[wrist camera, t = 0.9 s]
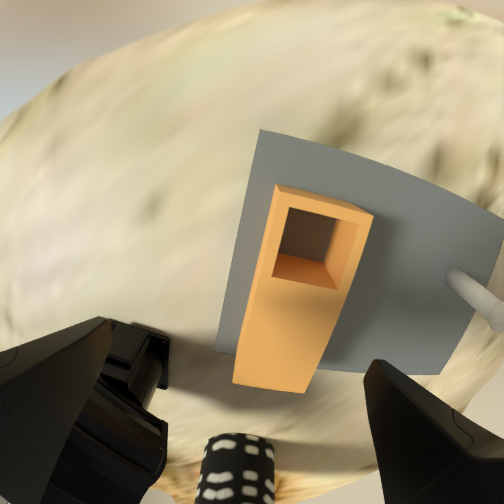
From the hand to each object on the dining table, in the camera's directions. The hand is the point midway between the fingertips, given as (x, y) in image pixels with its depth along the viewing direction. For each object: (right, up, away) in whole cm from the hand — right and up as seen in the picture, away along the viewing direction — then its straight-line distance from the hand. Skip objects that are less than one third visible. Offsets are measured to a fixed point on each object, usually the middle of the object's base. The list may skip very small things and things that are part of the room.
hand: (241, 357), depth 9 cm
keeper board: (+10, +1, +11) cm, 15 cm away
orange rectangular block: (+3, +1, +10) cm, 11 cm away
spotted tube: (-1, -20, +19) cm, 28 cm away
